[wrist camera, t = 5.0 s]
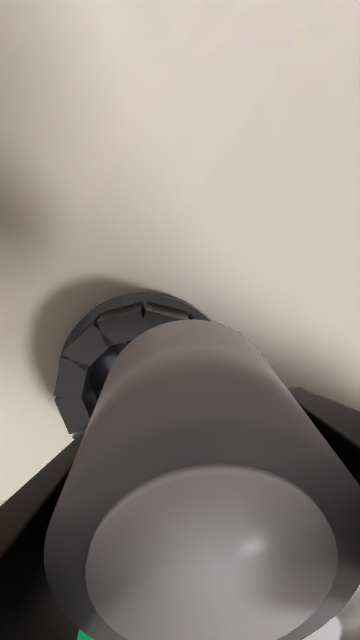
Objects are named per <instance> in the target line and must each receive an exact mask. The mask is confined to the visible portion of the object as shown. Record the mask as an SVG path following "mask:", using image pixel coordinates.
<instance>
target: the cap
mask: <svg viewBox="0 0 360 640" xmlns="http://www.w3.org/2000/svg"><path fill="white" fill-rule="evenodd" d="M44 567H45V572H46V577H47V581H48V584H49V586H50V589H51V591H52V594H53V596H54V598H55V600H56V601H57V603H58V605H59V606H60V608H61V609H62V611H63V612H64V613H65V614H66V615H67V617H68V618H69V619H70V620H71V621H72V622H73V623H74V624H75V625H76V626H77V627H78V628H79V629H80V630H82V631H83V632H84V633H85V634H87V635H88V636H89V637H91V638H92V639H94V640H302V639H304V638H306V637H307V636H309V635H310V634H311V633H313V632H315V631H316V630H318V629H319V628H321V627H322V626H323V625H324V624H325V623H327V622H328V621H329V620H330V619H331V618H333V617H334V616H335V615H336V614H337V613H338V612H339V611H340V610H341V609H342V608H343V607H344V605H345V604H346V603H347V602H348V601H349V599H350V598H351V597H352V595H353V594H354V593H355V591H356V590H357V588H358V586H359V584H360V486H359V484H358V483H357V481H356V480H355V479H354V477H353V476H352V475H351V473H350V472H349V471H348V469H347V468H346V467H345V465H344V464H343V463H342V461H341V460H340V459H339V457H338V456H337V454H336V453H335V452H334V450H333V449H332V448H331V446H330V445H329V444H328V442H327V441H326V440H325V438H324V437H323V436H322V434H321V433H320V432H319V430H318V429H317V428H316V426H315V425H314V424H313V422H312V421H311V420H310V418H309V417H308V416H307V414H306V413H305V412H304V410H303V409H302V408H301V406H300V405H299V404H298V402H297V401H296V400H295V398H294V397H293V396H292V394H291V393H290V392H289V390H288V389H287V388H286V386H285V385H284V383H283V382H282V381H281V379H280V378H279V377H278V375H277V374H276V373H275V371H274V370H273V369H272V367H271V366H270V365H269V363H268V362H267V361H266V359H265V358H264V357H263V355H262V354H261V353H260V351H259V350H258V349H257V348H256V346H255V345H254V344H253V343H251V342H250V341H249V340H248V339H247V338H246V337H244V336H243V335H242V334H240V333H239V332H237V331H235V330H233V329H231V328H229V327H227V326H224V325H221V324H219V323H215V322H210V321H205V320H179V321H172V322H168V323H165V324H161V325H158V326H156V327H154V328H151V329H149V330H147V331H146V332H144V333H142V334H141V335H139V336H138V337H136V338H135V339H134V340H132V341H131V342H130V343H129V344H128V345H127V346H126V347H125V348H124V349H123V350H122V351H121V353H120V354H119V355H118V357H117V358H116V359H115V361H114V363H113V365H112V367H111V369H110V371H109V374H108V376H107V379H106V381H105V384H104V386H103V389H102V391H101V394H100V396H99V399H98V401H97V404H96V406H95V409H94V411H93V414H92V416H91V419H90V422H89V424H88V427H87V429H86V432H85V434H84V437H83V439H82V442H81V444H80V447H79V449H78V452H77V454H76V457H75V459H74V462H73V464H72V467H71V469H70V472H69V474H68V477H67V479H66V482H65V485H64V487H63V490H62V492H61V495H60V497H59V500H58V502H57V505H56V507H55V510H54V512H53V515H52V518H51V520H50V523H49V526H48V529H47V532H46V538H45V544H44Z"/></svg>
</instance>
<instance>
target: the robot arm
mask: <svg viewBox="0 0 360 640" xmlns="http://www.w3.org/2000/svg"><path fill="white" fill-rule="evenodd" d="M288 390H289V392H290V393H291V394H292V396H293V397H294V398H295V400H296V401H297V402H298V404H299V405H300V406H301V408H302V409H303V410H304V412H305V413H306V414H307V416H308V417H309V418H310V420H311V421H312V422H313V424H314V425H315V426H316V428H317V429H318V430H319V432H320V433H321V434H322V436H323V437H324V438H325V440H326V441H327V442H328V444H329V445H330V446H331V448H332V449H333V450H334V452H335V453H336V454H337V456H338V457H339V459H340V460H341V461H342V463H343V464H344V465H345V467H346V468H347V469H348V471H349V472H350V473H351V475H352V476H353V477H354V479H355V480H356V481H357V483H358V484H359V486H360V411H357V410H355V409H352V408H350V407H347V406H345V405H342V404H340V403H337V402H335V401H332V400H330V399H327V398H325V397H322V396H320V395H317V394H315V393H312V392H310V391H307V390H305V389H302V388H300V387H293V388H288ZM84 434H85V432H84V433H81V434H80V435H79V436H78V437H77V438H76V439H75V440H74V441H72V442H71V443H70V444H69V445H68V446H67V447H66V448H65V449H64V450H62V451H61V452H60V453H59V454H58V455H57V456H56V457H55V458H54V459H52V460H51V461H50V462H49V463H48V464H47V465H46V466H45V467H44V468H42V469H41V470H40V471H39V472H38V473H37V474H36V475H35V476H34V477H32V478H31V479H30V480H29V481H28V482H27V483H26V484H25V485H24V486H22V487H21V488H20V489H19V490H18V491H17V492H16V493H15V494H14V495H13V496H11V497H10V498H9V499H8V500H7V501H6V502H5V503H4V504H3V505H1V506H0V640H77V638H78V633H79V628H78V627H77V626H76V625H75V624H74V623H73V622H72V621H71V620H70V619H69V618H68V617H67V615H66V614H65V613H64V612H63V611H62V609H61V608H60V606H59V605H58V603H57V601H56V600H55V598H54V596H53V594H52V591H51V589H50V586H49V584H48V581H47V577H46V572H45V567H44V544H45V538H46V532H47V529H48V526H49V523H50V520H51V518H52V515H53V512H54V510H55V507H56V505H57V502H58V500H59V497H60V495H61V492H62V490H63V487H64V485H65V482H66V479H67V477H68V474H69V472H70V469H71V467H72V464H73V462H74V459H75V457H76V454H77V452H78V449H79V447H80V444H81V442H82V439H83V437H84Z"/></svg>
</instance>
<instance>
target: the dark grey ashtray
mask: <svg viewBox="0 0 360 640" xmlns="http://www.w3.org/2000/svg"><path fill="white" fill-rule="evenodd" d="M179 320H205V321H210V322H212V321H211V320H210V319H209V318H208V317H207V316H206V315H204V314H203V313H202V312H201V311H200V310H198V309H197V308H195V307H194V306H192V305H190V304H188V303H186V302H184V301H182V300H180V299H177V298H174V297H171V296H167V295H162V294H154V293H137V294H130V295H125V296H121V297H118V298H115V299H112V300H109V301H107V302H105V303H103V304H101V305H99V306H98V307H97V308H95V309H94V310H92V311H91V312H90V313H88V314H87V315H86V316H85V317H84V318H83V319H82V320H81V321H80V322H79V323H78V325H77V326H76V327H75V328H74V329H73V331H72V332H71V334H70V336H69V337H68V339H67V341H66V343H65V345H64V348H63V350H62V354H61V358H60V363H59V371H58V376H57V382H56V387H55V393H54V396H57V397H56V398H55V402H56V405H57V407H58V409H59V411H60V414H61V416H62V418H63V421H64V423H65V425H66V428H67V430H68V432H69V434H72V433H74V434H73V437H72V438H73V439H76V438H77V437H78V436H79V435H80V434H81V433H84V432H86V429H87V427H88V424H89V422H90V419H91V416H92V414H93V411H94V409H95V406H96V404H97V401H98V399H99V396H100V394H101V391H102V389H103V386H104V384H105V381H106V379H107V376H108V374H109V371H110V369H111V367H112V365H113V363H114V361H115V359H116V358H117V357H118V355H119V354H120V353H121V351H122V350H123V349H124V348H125V347H126V346H127V345H128V344H129V343H130V342H131V341H132V340H134V339H135V338H136V337H138V336H139V335H141V334H142V333H144V332H146V331H147V330H149V329H151V328H154V327H156V326H158V325H161V324H165V323H168V322H172V321H179Z"/></svg>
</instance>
